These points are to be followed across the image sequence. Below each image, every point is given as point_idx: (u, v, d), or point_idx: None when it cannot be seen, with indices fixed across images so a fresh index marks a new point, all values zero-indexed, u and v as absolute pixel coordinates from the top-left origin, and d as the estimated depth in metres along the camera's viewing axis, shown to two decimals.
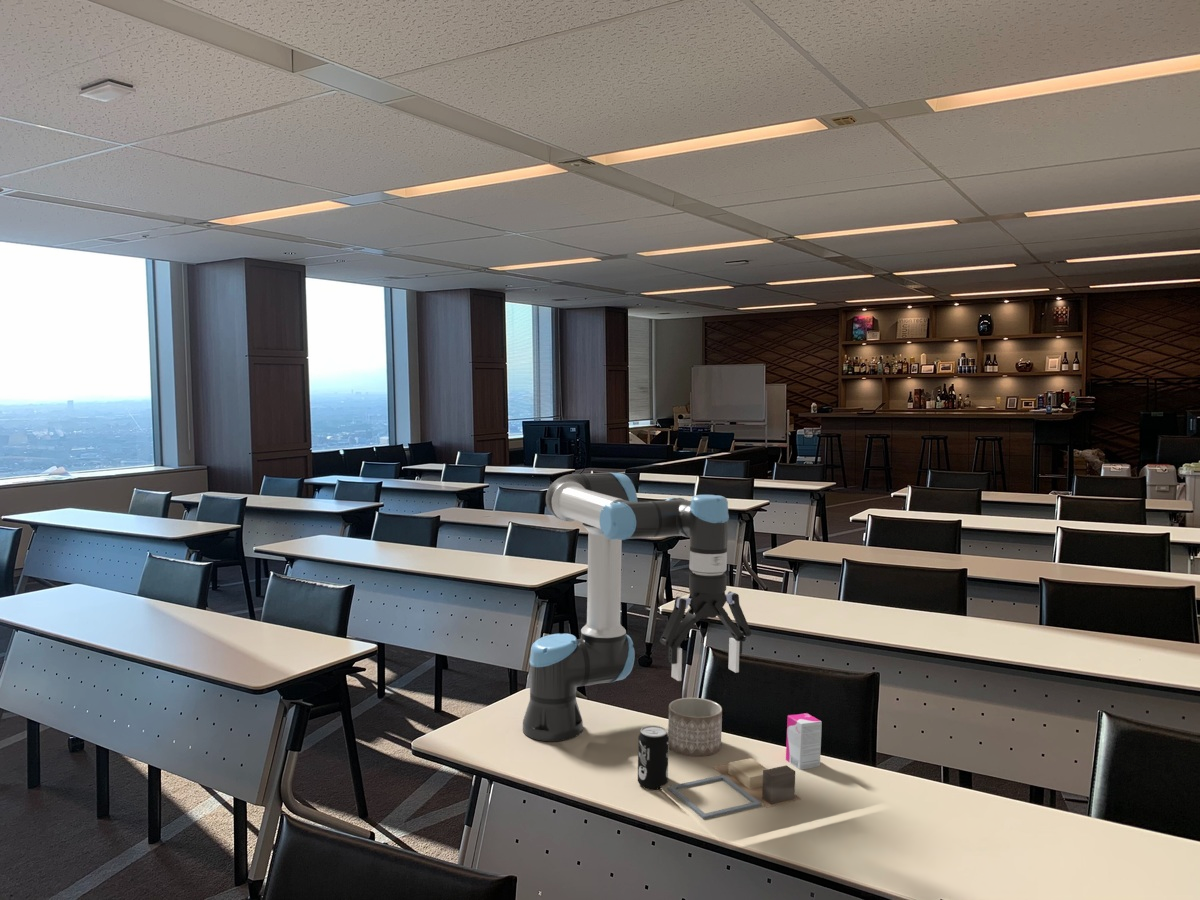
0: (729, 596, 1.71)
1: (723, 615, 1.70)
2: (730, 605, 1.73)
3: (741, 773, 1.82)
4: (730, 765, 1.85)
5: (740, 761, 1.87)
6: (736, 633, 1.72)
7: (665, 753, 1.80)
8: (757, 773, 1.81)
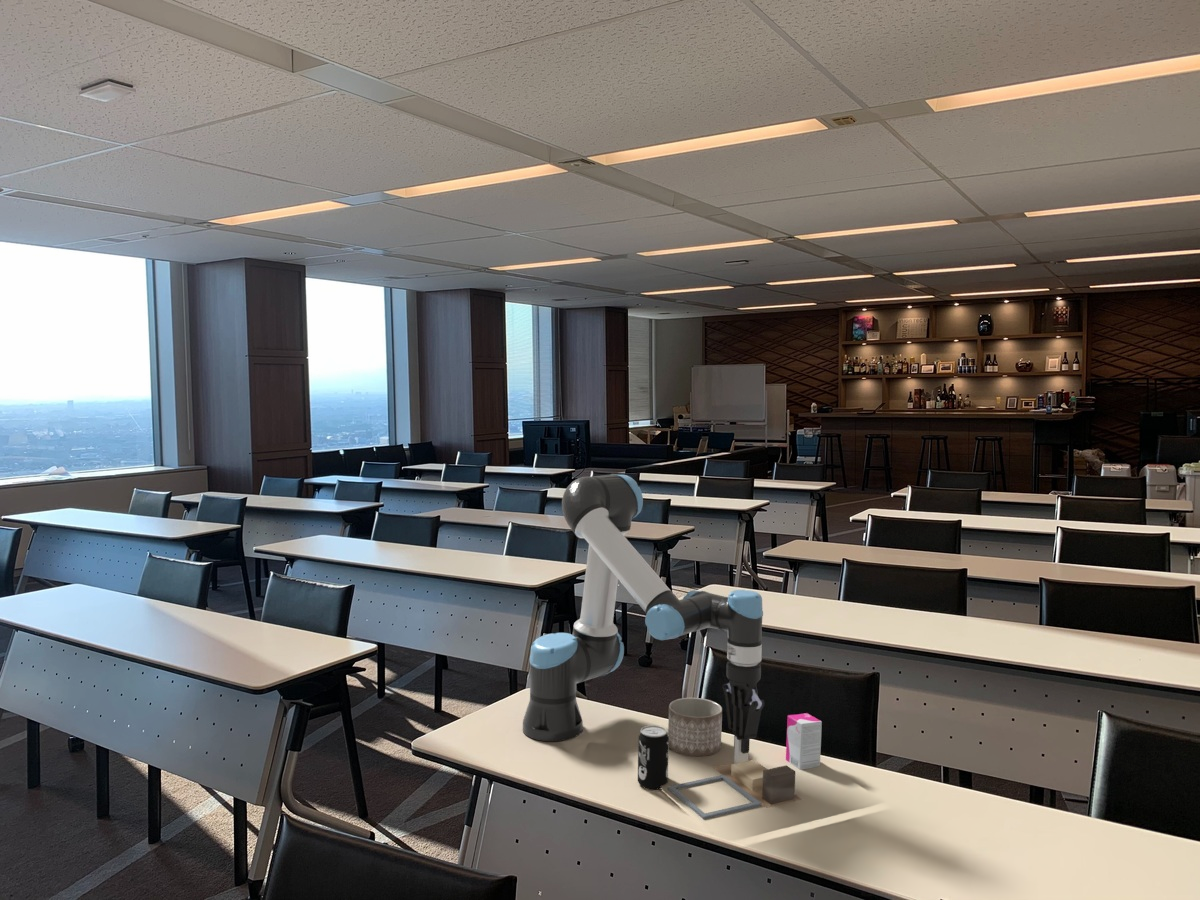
0: (754, 698, 1.81)
1: (738, 704, 1.85)
2: None
3: (744, 775, 1.81)
4: (733, 767, 1.84)
5: (742, 763, 1.86)
6: (740, 729, 1.85)
7: (665, 753, 1.80)
8: (760, 776, 1.80)
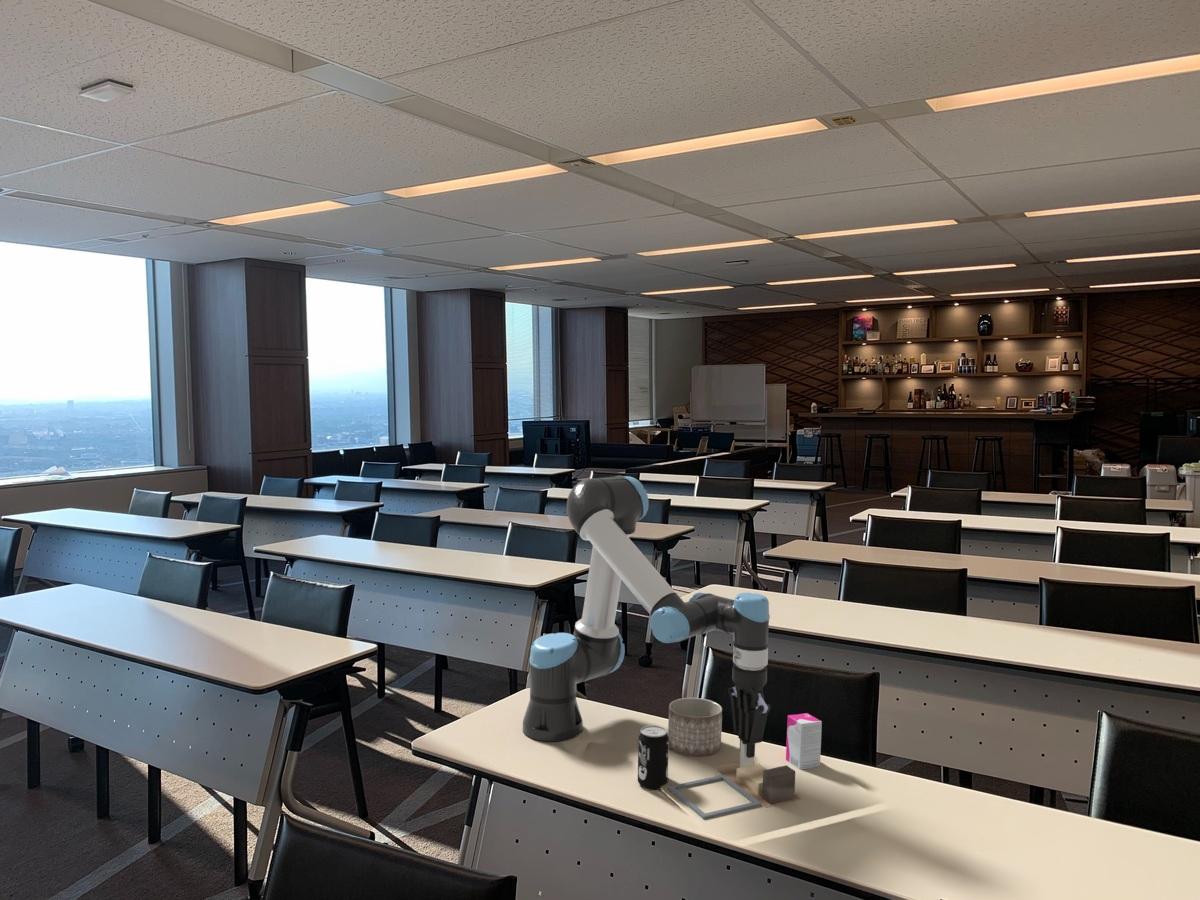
0: (760, 703, 1.79)
1: (744, 709, 1.83)
2: None
3: (749, 779, 1.79)
4: (738, 771, 1.83)
5: (748, 767, 1.84)
6: (745, 733, 1.83)
7: (665, 753, 1.80)
8: None
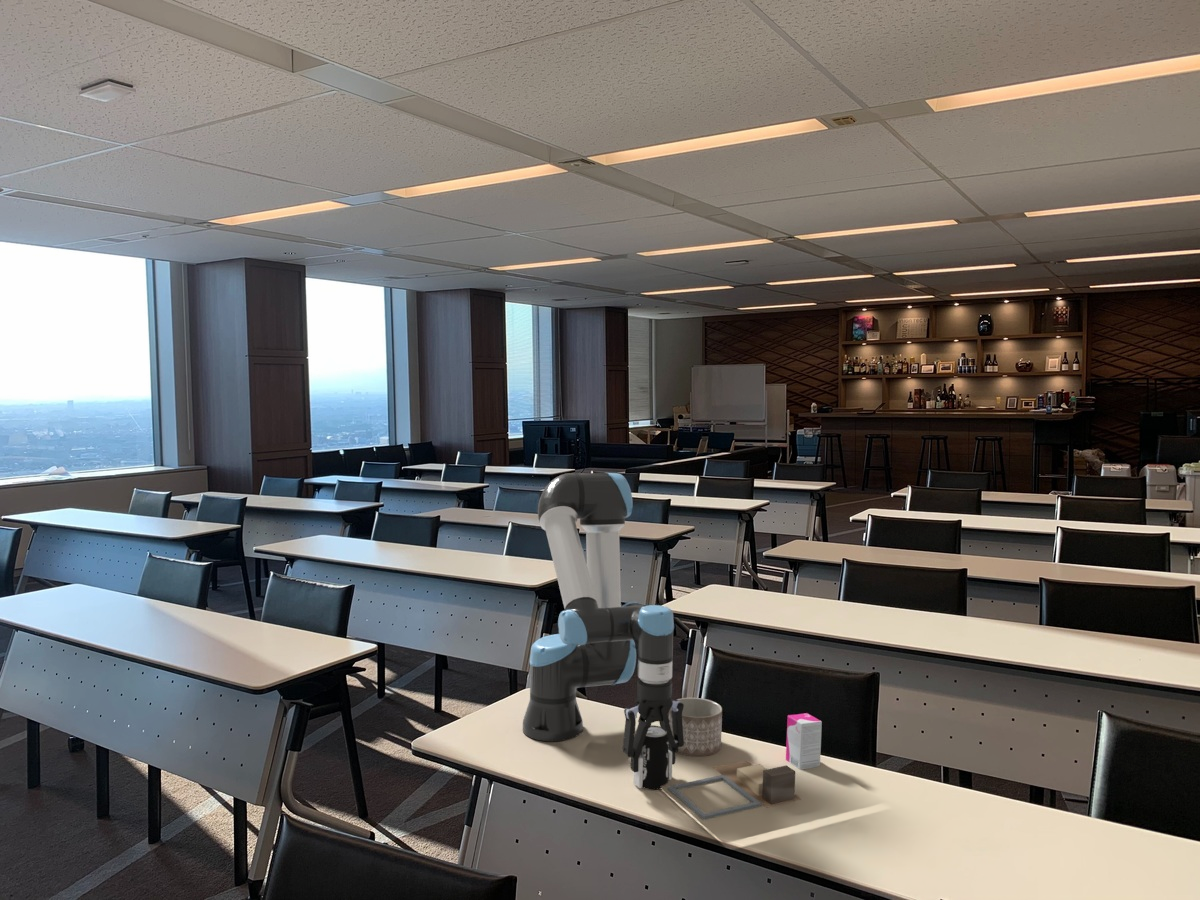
0: (675, 703, 1.83)
1: (665, 721, 1.81)
2: (673, 712, 1.84)
3: (750, 779, 1.79)
4: (738, 771, 1.82)
5: (748, 767, 1.84)
6: (671, 743, 1.83)
7: (665, 753, 1.80)
8: None
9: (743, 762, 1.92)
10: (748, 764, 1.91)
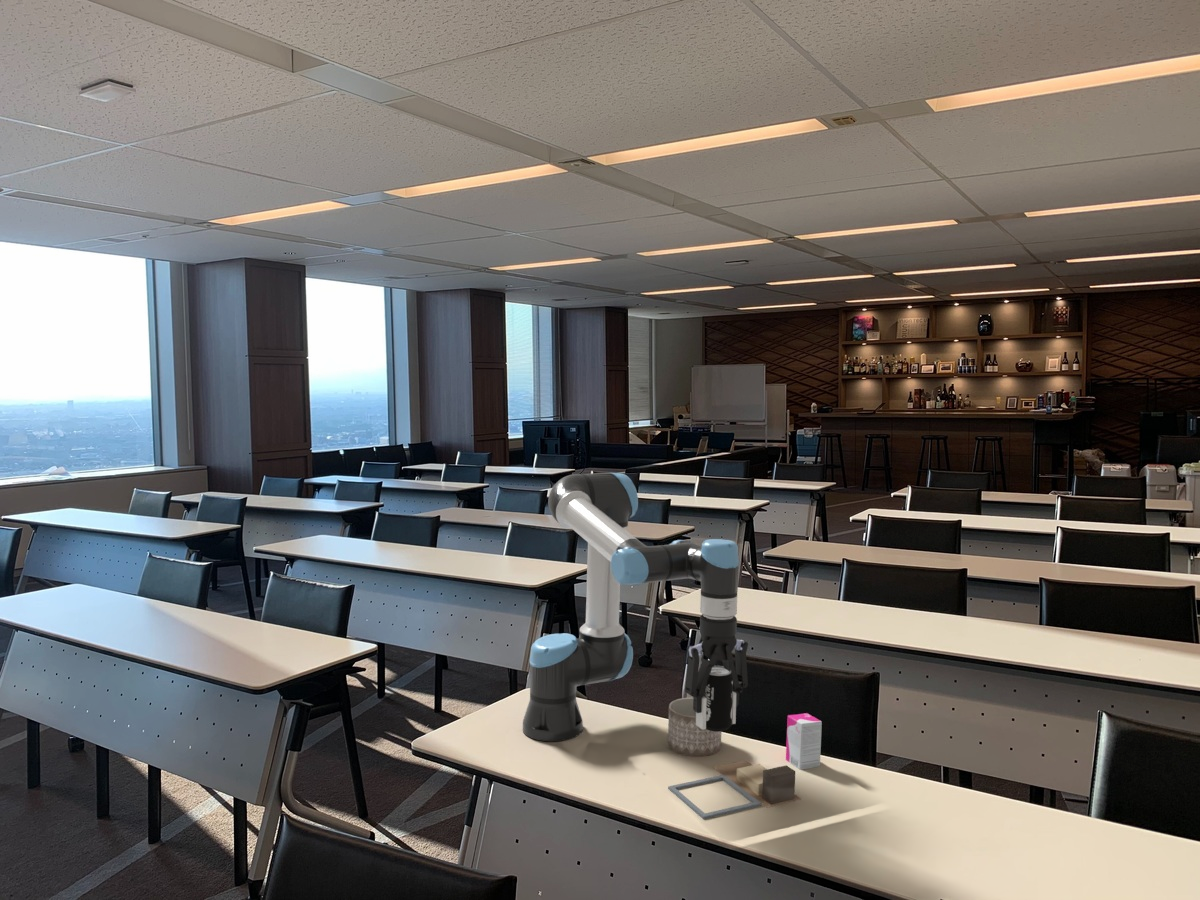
0: (739, 642, 1.75)
1: (729, 660, 1.72)
2: (736, 652, 1.76)
3: (750, 779, 1.79)
4: (738, 771, 1.82)
5: (748, 767, 1.84)
6: (735, 683, 1.74)
7: (730, 693, 1.71)
8: None
9: (743, 762, 1.92)
10: (748, 764, 1.91)
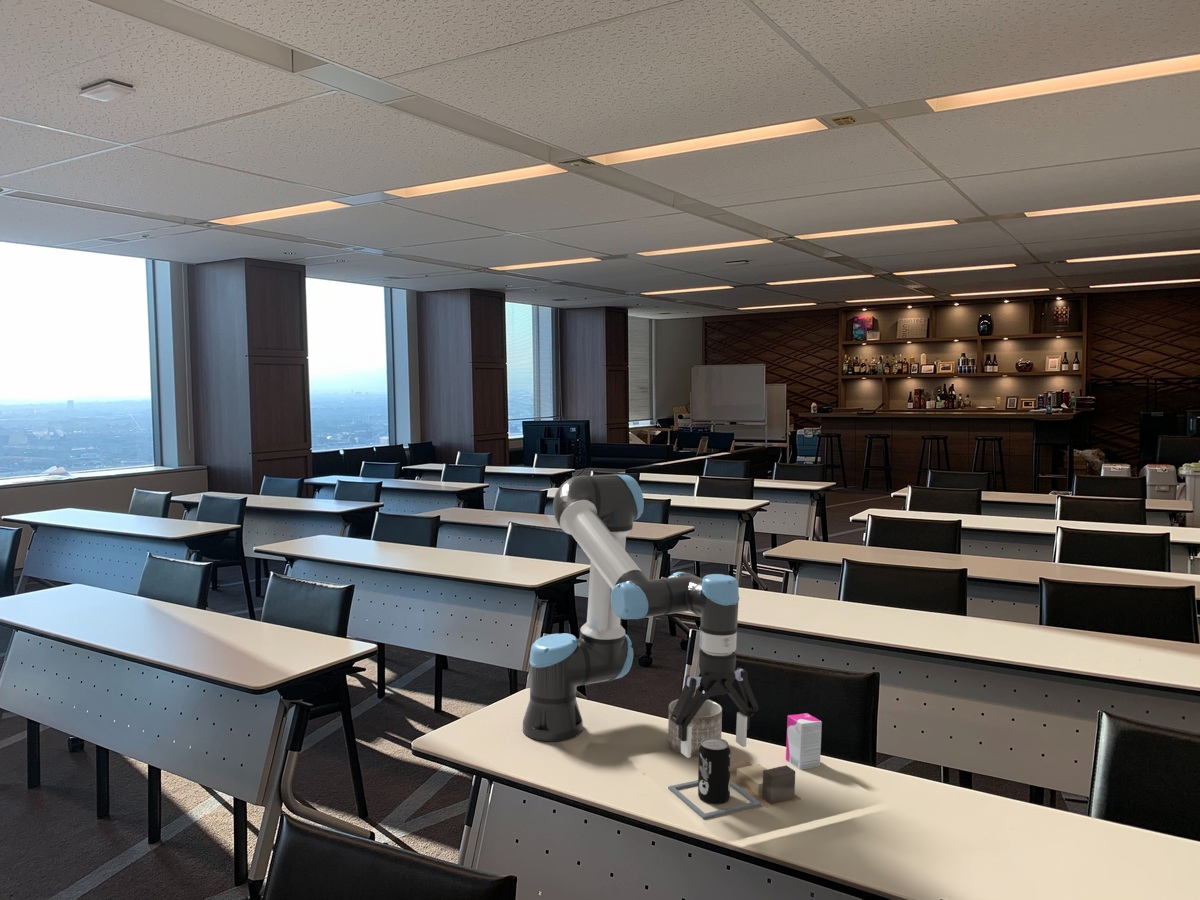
0: (738, 673, 1.75)
1: (732, 692, 1.73)
2: (738, 681, 1.77)
3: (750, 779, 1.79)
4: (738, 771, 1.82)
5: (748, 767, 1.84)
6: (744, 709, 1.76)
7: (727, 766, 1.72)
8: None
9: (743, 762, 1.92)
10: (748, 764, 1.91)
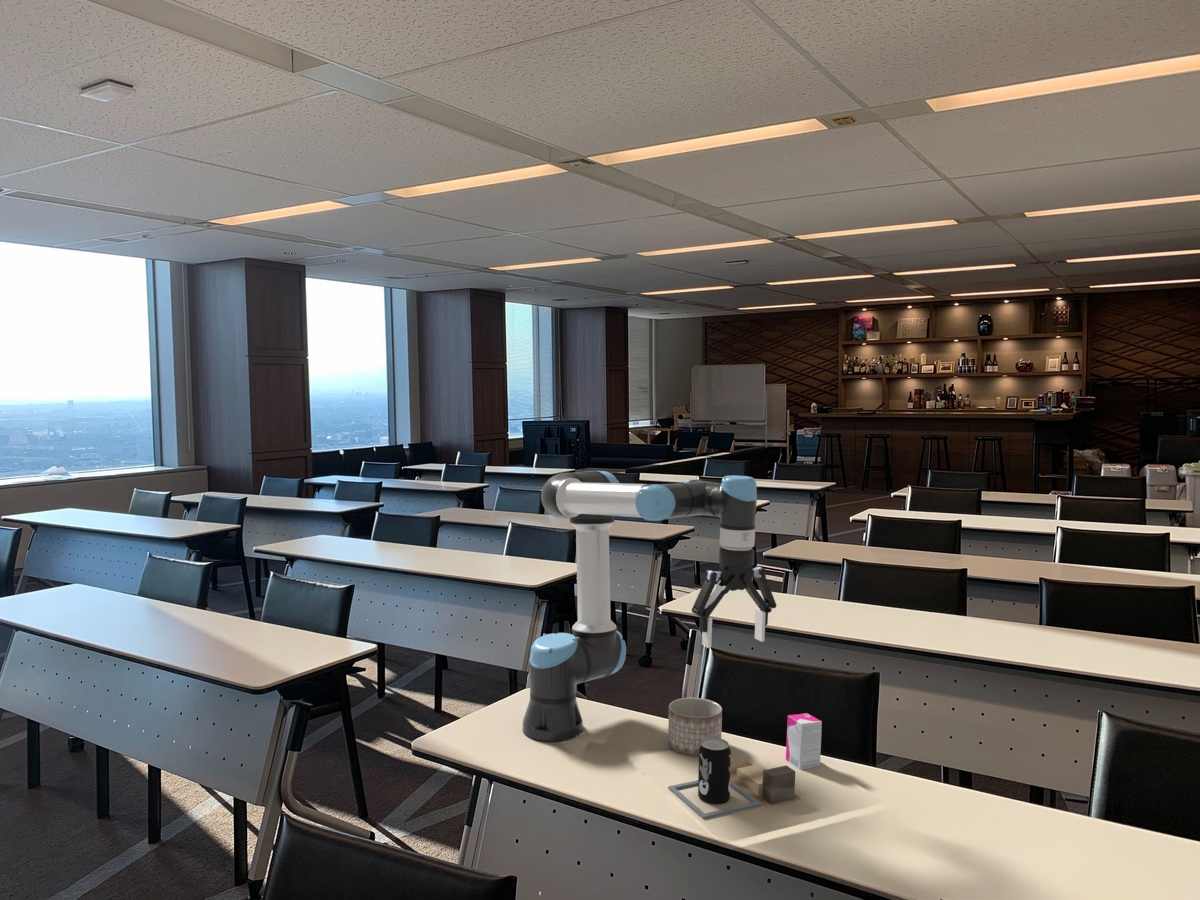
0: (756, 570, 1.84)
1: (751, 588, 1.82)
2: (757, 579, 1.85)
3: (750, 779, 1.79)
4: (738, 771, 1.82)
5: (748, 767, 1.84)
6: (762, 605, 1.84)
7: (727, 766, 1.72)
8: None
9: (743, 762, 1.92)
10: (748, 764, 1.91)
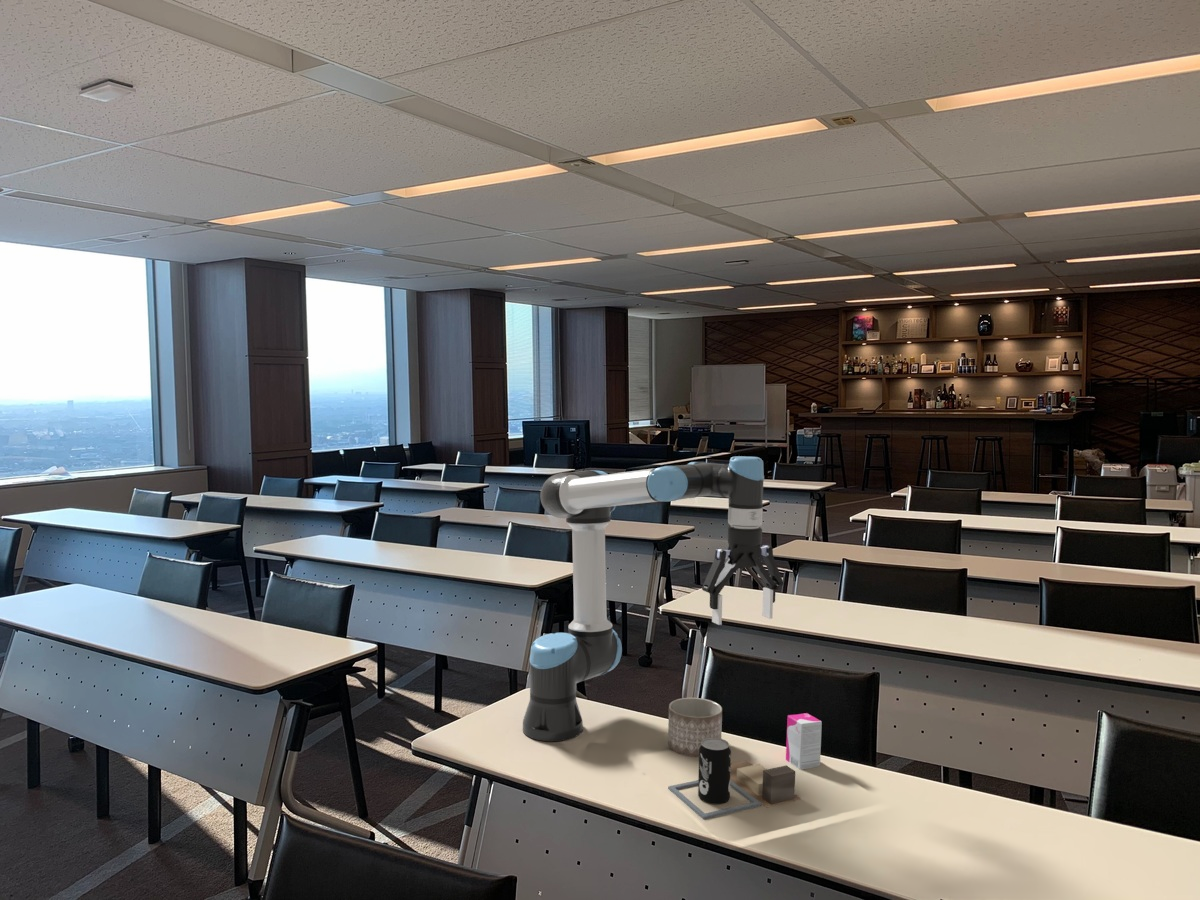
0: (764, 549, 1.88)
1: (759, 565, 1.86)
2: (764, 557, 1.90)
3: (750, 779, 1.79)
4: (738, 771, 1.82)
5: (748, 767, 1.84)
6: (770, 582, 1.89)
7: (727, 766, 1.72)
8: None
9: (743, 762, 1.92)
10: (748, 764, 1.91)
